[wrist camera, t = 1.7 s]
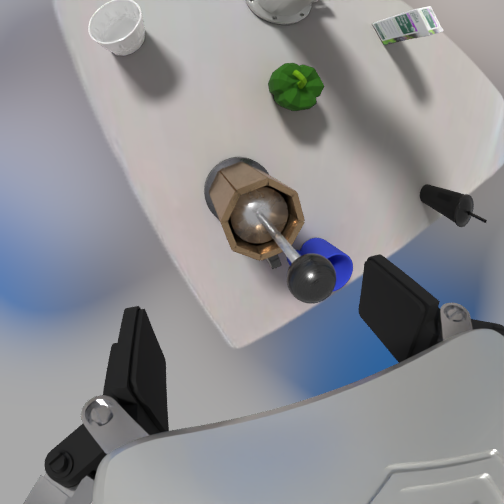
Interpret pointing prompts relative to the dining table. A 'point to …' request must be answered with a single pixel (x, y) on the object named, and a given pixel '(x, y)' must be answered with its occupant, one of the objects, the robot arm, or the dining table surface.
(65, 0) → the dining table surface
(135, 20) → the white cup
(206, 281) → the dining table surface
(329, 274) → the plunger
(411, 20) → the syrup box
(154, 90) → the dining table surface
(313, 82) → the bell pepper
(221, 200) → the tan octagonal hollow container
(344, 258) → the mug
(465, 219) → the drinking cup
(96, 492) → the robot arm
